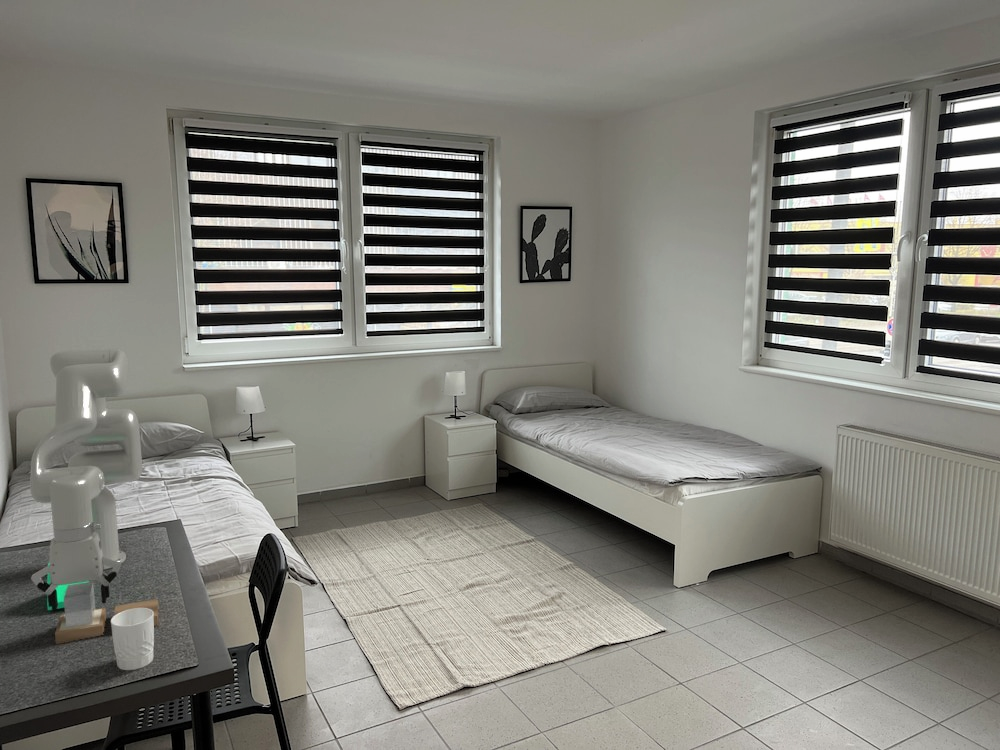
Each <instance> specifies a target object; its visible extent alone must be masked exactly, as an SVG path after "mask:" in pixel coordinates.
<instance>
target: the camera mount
mask: <svg viewBox="0 0 1000 750" xmlns="http://www.w3.org/2000/svg"><path fill="white" fill-rule="evenodd" d="M48 565H49V562H48V563H47V566H48ZM46 575H47V577H46V579H47V582H46V583H48V584H50V583H51V581H50V573H48V574H46ZM86 582H90V581H86ZM86 582H79V583H72V584H66V585H58V586H57V587H56V588H55V589H56V590H57V601H58V606H57V609H58V610H59V609H65V607H64V596H65V593H66V590H67V586H68V585H73V584H80V583H86ZM46 596H47V598H46V601H47V603H46V605H47V611H52V607H49V605H48V595H46ZM57 609H56V610H57Z"/></svg>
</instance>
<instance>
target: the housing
mask: <svg viewBox="0 0 1000 750" xmlns="http://www.w3.org/2000/svg"><path fill="white" fill-rule="evenodd" d="M94 587H95V586H94V581H89V582H86V583H80V584H73V585H68V586H67V590H66V593H65V596H64V607H65V608H64V614H65V618H66V628H72V627H78V626H84V625H90V624H93V620H94V615H95V609H96V602H95V601H96V600H95V599H96V598H95V589H94Z"/></svg>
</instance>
